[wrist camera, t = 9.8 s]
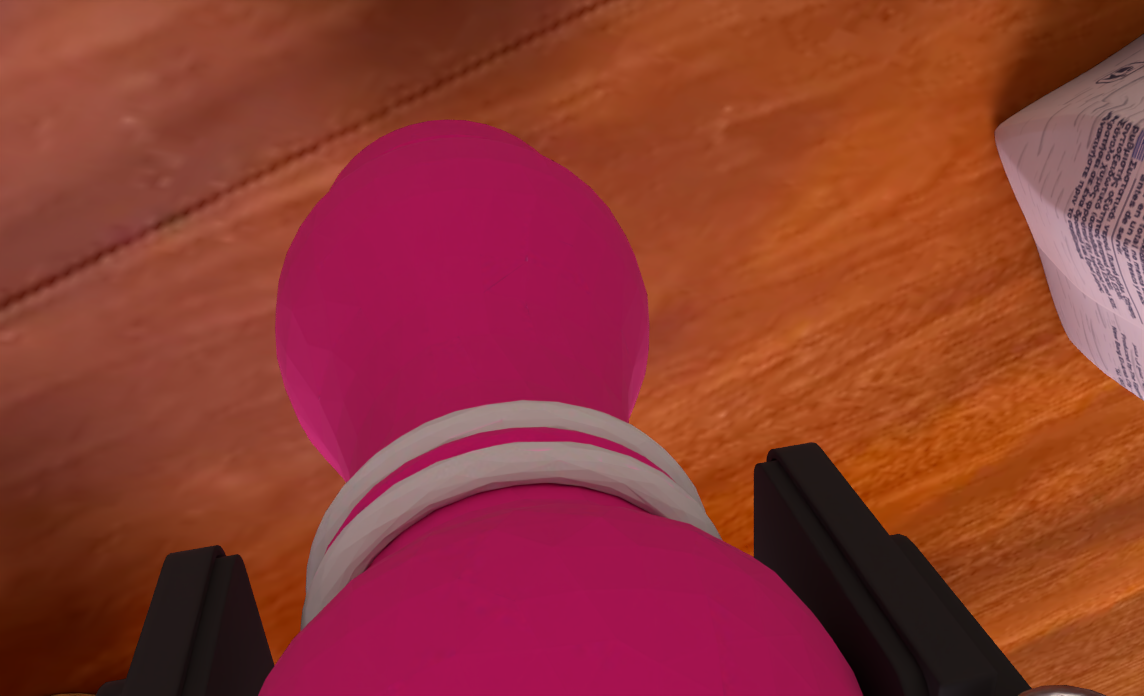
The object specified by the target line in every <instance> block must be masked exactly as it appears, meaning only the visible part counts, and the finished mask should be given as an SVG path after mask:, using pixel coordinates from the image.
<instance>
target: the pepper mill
mask: <svg viewBox="0 0 1144 696" xmlns="http://www.w3.org/2000/svg"><path fill="white" fill-rule="evenodd" d="M275 332H276V349H277V359H278V363H279V367H280V371H281V375H282V378H283V382H284V386H285V390H286V392H287V394H288V397H289V399H290V401H291V404H292V406H293V408H294V411H295V413H296V415H297V418H298V420H299V422H300V424H301V426H302V428H303V429H304V431H305V433H306V434H307V436H308V438H309V440H310V441H311V442H312V443H313V445H314V446H315V447H316V448H317V449H318V451H319V452H320V453H321V454H322V455H323V457H324V458H325V459H326V460H327V461H328V462H329V463H330V464H331V466H332V467H333V468H334V469H335V470H336V471H337V472H338V473H339V474H340V475H341V476H342V478H343V479H344V480H345V482H346V484H345V485H344V486H343V487H342V489H341V490H340V492H339V493H338V495H337V496H336V498H335V499H334V501H333V502H332V504H331V505H330V507H329V508H328V509H327V511H326V512H325V515H324V517H323V519H322V521H321V523H320V525H319V527H318V530H317V533H316V535H315V538H314V541H313V543H312V547H311V551H310V556H309V560H308V565H307V577H306V598H305V603H304V607H303V611H302V620H301V631H300V632H299V634H298V635H297V636H296V637H295V638H294V639H293V640H292V642H291V643H290V644H289V646H288V647H287V649H286V650H285V652H284V653H283V655H282V656H281V657H280V659H279V660H278V662H277V663H276V665H275V666H274V668H273V669H272V670H271V672H270V673H269V675H268V676H267V678H266V679H265V681H264V684H263V686H262V688H261V690H260V692H259V695H258V696H863V694H862V691H861V689H860V686H859V684H858V682H857V679H856V677H855V674H854V672H853V670H852V669H851V667H850V666H849V664H848V663H847V661H846V659H845V658H844V656H843V655H842V653H841V652H840V650H839V649H838V647H837V646H836V644H835V642H834V641H833V639H832V638H831V637H830V635H829V634H828V633H827V631H826V630H825V628H824V627H823V626H822V624H821V623H820V622H819V620H818V619H817V618H816V616H815V615H814V613H813V612H812V611H811V610H810V609H809V608H808V607H807V606H806V605H805V604H804V603H803V602H802V601H801V599H800V598H799V597H798V596H797V595H796V594H795V593H794V592H793V591H792V590H791V589H790V588H789V586H788V585H787V584H786V583H785V582H784V581H783V580H782V579H781V578H780V577H779V576H778V575H777V573H776V572H774V571H773V570H771V569H770V568H768V567H767V566H765V565H764V564H763V563H761V562H760V561H758V560H757V559H755V558H754V557H752V556H750V555H748V554H746V553H744V552H743V551H741V550H739V549H737V548H735V547H733V546H731V545H729V544H727V543H726V542H724V541H722V539H721V537H720V535H719V533H718V532H717V530H716V528H715V526H714V524H713V523H712V522H711V520H710V519H709V517H708V516H707V515H706V513H705V509H704V507H703V505H702V502H701V500H700V498H699V495H698V493H697V490H696V488H695V486H694V485H693V483H692V482H691V480H690V479H689V478H688V476H687V475H686V473H685V472H684V471H683V469H682V468H681V467H680V465H679V464H678V463H677V462H676V461H675V460H674V459H673V458H672V457H671V456H670V455H669V454H668V452H667V451H666V450H665V449H664V448H662V447H661V446H660V445H659V444H657V443H656V442H655V441H654V440H652V439H651V438H650V437H649V436H647V435H646V434H645V433H643V432H642V431H640V430H639V429H637V428H636V427H634V426H633V425H631V424H629V418H630V415H631V413H632V410H633V408H634V405H635V402H636V400H637V397H638V394H639V391H640V388H641V385H642V382H643V379H644V376H645V372H646V365H647V358H648V350H649V314H648V299H647V292H646V289H645V286H644V283H643V280H642V277H641V273H640V270H639V267H638V264H637V261H636V258H635V255H634V253H633V251H632V248H631V246H630V244H629V242H628V239H627V237H626V235H625V234H624V232H623V230H622V229H621V227H620V225H619V224H618V222H617V220H616V219H615V217H614V216H613V214H612V212H611V211H610V209H609V208H608V206H607V205H606V204H605V203H604V202H603V201H602V200H601V199H600V198H599V196H598V195H597V194H596V193H595V192H594V191H593V190H592V189H591V187H589V186H588V185H587V184H585V183H584V182H583V181H582V180H580V179H579V178H578V177H577V176H575V175H574V174H573V173H572V172H570V171H569V170H568V169H566V168H565V167H563V166H561V165H560V164H558V163H556V162H554V161H552V160H550V159H548V158H546V157H544V156H542V155H540V154H539V153H538V152H537V151H536V150H535V149H534V148H532V147H531V146H529V145H528V144H526V143H525V142H523V141H522V140H520V139H519V138H517V137H516V136H513V135H511V134H509V133H507V132H505V131H503V130H501V129H498V128H495V127H492V126H489V125H486V124H481V123H476V122H471V121H466V120H435V121H427V122H422V123H418V124H413V125H409V126H406V127H403V128H400V129H398V130H395V131H393V132H391V133H389V134H387V135H385V136H383V137H381V138H379V139H377V140H376V141H374V142H373V143H371V144H370V145H368V146H367V147H366V148H364V149H363V150H362V151H361V152H360V153H358V154H357V155H356V156H355V157H354V158H353V159H352V160H351V161H350V162H349V163H348V164H347V166H346V167H345V168H344V169H343V170H342V171H341V173H340V174H339V175H338V177H337V179H336V180H335V182H334V184H333V185H332V187H331V189H330V191H329V192H328V193H327V194H326V195H325V196H324V197H323V198H322V199H321V200H320V201H319V202H318V203H317V204H316V205H315V207H314V208H313V210H312V211H311V212H310V214H309V215H308V216H307V218H306V219H305V221H304V222H303V223H302V225H301V226H300V228H299V230H298V232H297V234H296V236H295V238H294V240H293V242H292V244H291V246H290V248H289V250H288V252H287V254H286V258H285V261H284V265H283V268H282V272H281V275H280V279H279V285H278V294H277V304H276V325H275Z"/></svg>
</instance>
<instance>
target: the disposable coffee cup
mask: <svg viewBox="0 0 1144 696" xmlns="http://www.w3.org/2000/svg"><path fill="white" fill-rule="evenodd" d="M53 696H96V695H92V694H83V693H75V694H58V695H53Z"/></svg>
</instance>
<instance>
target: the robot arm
mask: <svg viewBox="0 0 1144 696" xmlns="http://www.w3.org/2000/svg"><path fill="white" fill-rule="evenodd" d="M754 558H755V559H757V560H758V561H760V562H761V563H763V564H764V565H765V566H767V567H768V568H770V569H771V570H773V571H774V572H776V573H777V575H778V576H779V577H780V578H781V579H782V580H783V581H784V582H785V583H786V584H787V585H788V586H789V588H790V589H791V590H792V591H793V592H794V593H795V594H796V595H797V596H798V597H799V598H800V599H801V601H802V602H803V603H804V604H805V605H806V606H807V607H808V608H809V609H810V610H811V611H812V612H813V613H814V615H815V616H816V618H817V619H818V620H819V622H820V623H821V624H822V626H823V627H824V628H825V630H826V631H827V633H828V634H829V635H830V637H831V638H832V639H833V641H834V642H835V644H836V646H837V647H838V649H839V650H840V652H841V653H842V655H843V656H844V658H845V659H846V661H847V663H848V664H849V666H850V667H851V669H852V670H853V672H854V674H855V677H856V679H857V682H858V684H859V686H860V689H861V691H862V694H863V696H1106V695H1103V694H1101V693H1098V692H1096V691H1093V690H1089V689H1084V688H1079V687H1074V686H1068V685H1049V686H1040V687H1037V688H1033V689H1032V688H1031V687H1030V686H1029V685H1028V683H1027V682H1026V681H1025V680H1024V679H1023V677H1022V676H1021V675H1020V674H1019V672H1018V671H1017V670H1016V669H1015V667H1014V666H1013V665H1012V664H1011V663H1010V661H1009V660H1008V659H1007V658H1006V656H1005V655H1004V654H1003V653H1002V651H1001V650H1000V649H999V648H998V647H997V645H996V644H995V643H994V642H993V640H992V639H991V638H990V637H989V635H988V634H987V633H986V632H985V631H984V629H983V628H982V627H981V626H980V624H979V623H978V622H977V621H976V619H975V618H974V617H973V616H972V615H971V613H970V612H969V611H968V610H967V608H966V607H965V606H964V605H963V603H962V602H961V601H960V600H959V599H958V597H957V596H956V595H955V594H954V592H953V591H952V590H951V589H950V587H949V586H948V585H947V584H946V583H945V581H944V580H943V579H942V578H941V576H940V575H939V574H938V573H937V571H936V570H935V569H934V568H933V567H932V565H931V564H930V563H929V562H928V560H927V559H926V558H925V557H924V555H923V554H922V553H921V552H920V551H919V549H918V548H917V547H916V546H915V544H914V543H912V542H911V541H910V540H909V539H908V538H907V537H906V536H903V535H900V534H896V535H889V534H888V533H887V532H886V530H885V529H884V528H883V527H882V525H881V524H880V523H879V521H878V520H877V519H876V518H875V516H874V515H873V514H872V513H871V511H870V510H869V509H868V507H867V506H866V505H865V504H864V502H863V501H862V500H861V499H860V497H859V496H858V495H857V493H856V492H855V491H854V490H853V488H852V487H851V486H850V485H849V483H848V482H847V481H846V479H845V478H844V477H843V476H842V474H841V473H840V472H839V470H838V469H837V468H836V467H835V465H834V464H833V463H832V462H831V460H830V459H829V458H828V456H827V455H826V454H825V453H824V451H823V450H822V449H821V448H820V447H819V446H818V445H817V444H816V443H813V442H811V443H805V444H800V445H794V446H788V447H782V448H776V449H771V450H770V451H769V452H768V455H767V462H764V463H758V464H756V466H755V469H754ZM273 668H274V663H273V659H272V656H271V653H270V649H269V646H268V643H267V639H266V636H265V632H264V629H263V626H262V622H261V619H260V616H259V612H258V609H257V605H256V602H255V599H254V595H253V592H252V589H251V585H250V582H249V578H248V575H247V572H246V568H245V565H244V562H243V560H242V558H241V556H240V555H238V554H237V555H231V556H226V555H225V552H224V551H223V549H222V548H221V546H218V545H216V546H210V547H204V548H199V549H193V550H187V551H181V552H175V553H170V554H169V555H167V557H166V559H165V561H164V564H163V567H162V570H161V573H160V576H159V579H158V582H157V585H156V588H155V591H154V595H153V598H152V601H151V604H150V607H149V610H148V613H147V616H146V619H145V622H144V625H143V629H142V632H141V635H140V638H139V641H138V644H137V647H136V650H135V653H134V656H133V659H132V662H131V666H130V669H129V672H128V675H127V678H126V679H122V680H116V681H111V682H106V683H105V684H104V685H102V686H101V687H100V688H99V690H98V692H97V694H96V696H258V695H259V692H260V690H261V688H262V686H263V684H264V681H265V679H266V678H267V676H268V675H269V673H270V672H271V670H272V669H273Z"/></svg>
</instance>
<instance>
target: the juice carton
mask: <svg viewBox="0 0 1144 696" xmlns="http://www.w3.org/2000/svg"><path fill="white" fill-rule="evenodd" d="M995 141H996V146H997V149H998V152H999V155H1000V158H1001V161H1002V164H1003V167H1004V169H1005V172H1006V175H1007V177H1008V180H1009V182H1010V185H1011V187H1012V189H1013V192H1014V194H1015V196H1016V199H1017V201H1018V203H1019V205H1020V207H1021V209H1022V212H1023V214H1024V216H1025V218H1026V221H1027V223H1028V225H1029V228H1030V230H1031V233H1032V235H1033V237H1034V240H1035V243H1036V246H1037V249H1038V252H1039V255H1040V258H1041V261H1042V264H1043V268H1044V271H1045V275H1046V278H1047V282H1048V286H1049V289H1050V292H1051V295H1052V298H1053V301H1054V304H1055V307H1056V310H1057V313H1058V315H1059V318H1060V320H1061V323H1062V325H1063V327H1064V330H1065V332H1066V334H1067V336H1068V337H1069V339H1070V340H1071V341H1072V343H1073V344H1074V345H1075V346H1076V347H1077V348H1078V349H1079V350H1080V351H1081V352H1082V353H1083V354H1084V355H1085V356H1086V357H1087V358H1088V359H1089V360H1091V361H1092V362H1093V363H1094V364H1095V365H1096V366H1097V367H1098V368H1099V369H1101V370H1102V371H1103V372H1104V373H1106V374H1107V375H1108V376H1109V377H1111V378H1112V379H1113V380H1115V381H1116V382H1118V383H1119V384H1120V385H1122V386H1123V387H1125V388H1126V389H1128V390H1129V391H1131V392H1132V393H1133V394H1135V395H1136V396H1138V397H1139V398H1141V399H1142V400H1144V34H1143V35H1141V36H1140V37H1139V38H1137V39H1136V40H1134V41H1133V42H1131V43H1130V44H1128V45H1127V46H1125V47H1124V48H1122V49H1121V50H1119V51H1118V52H1116V53H1115V54H1113V55H1112V56H1110V57H1109V58H1107V59H1106V60H1104V61H1103V62H1101V63H1100V64H1098V65H1097V66H1095V67H1093V68H1092V69H1090V70H1088V71H1087V72H1085V73H1083V74H1082V75H1080V76H1078V77H1077V78H1075V79H1073V80H1071V81H1070V82H1068V83H1066V84H1064V85H1063V86H1061V87H1059V88H1057V89H1056V90H1054V91H1052V92H1050V93H1049V94H1047V95H1045V96H1044V97H1042V98H1040V99H1039V100H1037V101H1035V102H1034V103H1032V104H1030V105H1028V106H1027V107H1025V108H1024V109H1022V110H1021V111H1019V112H1017V113H1016V114H1014V115H1013V116H1011V117H1010V118H1008V119H1007V120H1005V121H1004V122H1003V123H1001V124H1000V125H999V126H998V127H997V129H996V130H995Z"/></svg>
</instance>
